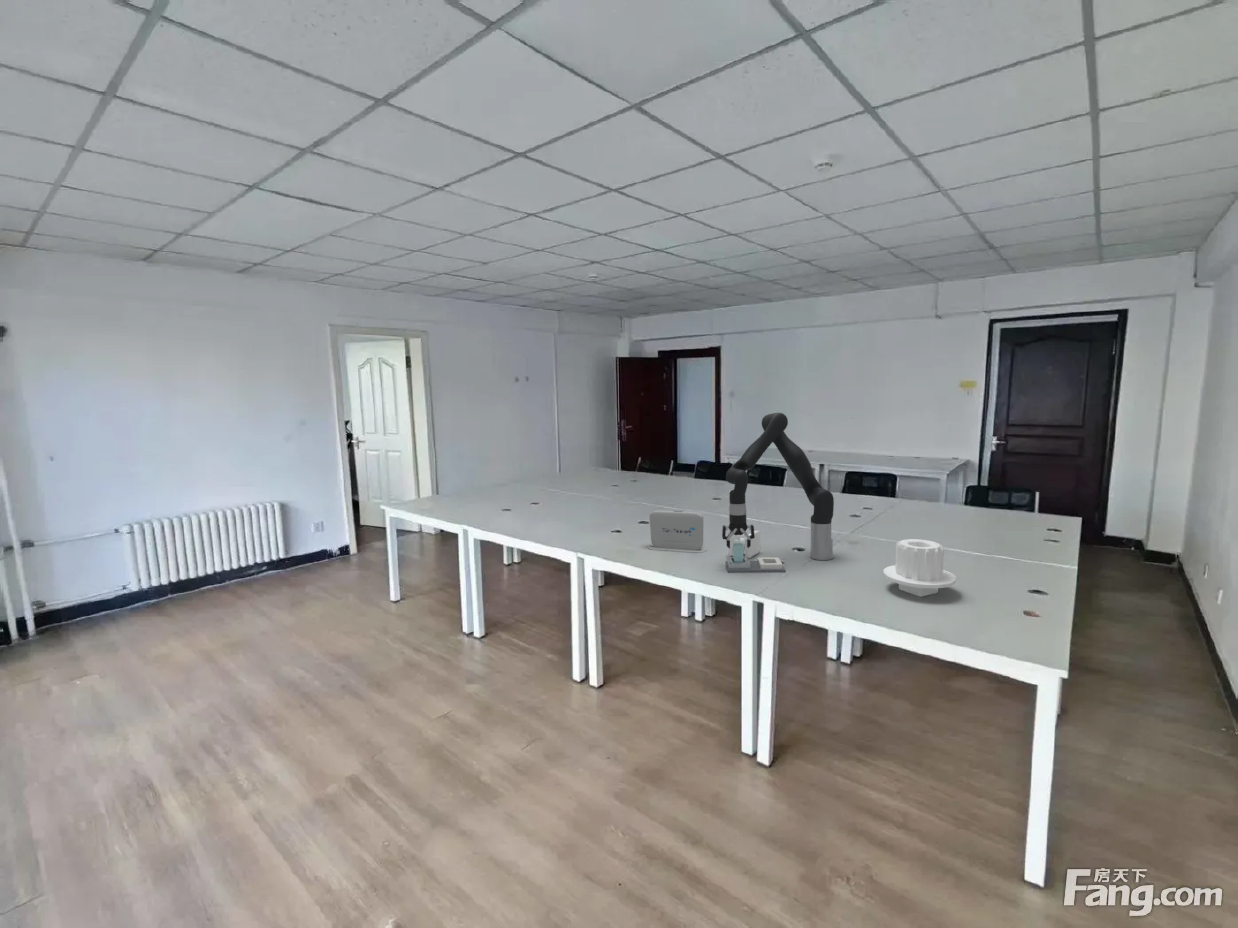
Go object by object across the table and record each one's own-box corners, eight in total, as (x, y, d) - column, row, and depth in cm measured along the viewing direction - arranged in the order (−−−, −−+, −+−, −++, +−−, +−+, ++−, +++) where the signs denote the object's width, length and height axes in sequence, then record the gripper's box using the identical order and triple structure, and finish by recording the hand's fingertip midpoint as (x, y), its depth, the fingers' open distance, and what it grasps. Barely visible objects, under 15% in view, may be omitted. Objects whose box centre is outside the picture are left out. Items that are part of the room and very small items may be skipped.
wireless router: (645, 549, 295) (643, 512, 292) (651, 544, 304) (650, 508, 302) (704, 553, 283) (703, 514, 281) (708, 548, 292) (707, 510, 290)
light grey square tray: (778, 561, 262) (778, 557, 262) (782, 568, 252) (782, 564, 252) (757, 561, 263) (757, 557, 263) (760, 568, 253) (760, 564, 253)
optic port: (747, 561, 264) (747, 555, 263) (750, 568, 253) (750, 562, 253) (726, 562, 265) (726, 556, 264) (728, 569, 254) (728, 562, 254)
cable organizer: (747, 560, 269) (747, 536, 268) (727, 557, 276) (727, 534, 274) (760, 552, 281) (760, 529, 279) (741, 549, 287) (741, 527, 286)
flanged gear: (924, 607, 205) (925, 556, 203) (868, 586, 228) (869, 541, 226) (970, 595, 215) (972, 546, 213) (913, 576, 238) (914, 532, 235)
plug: (742, 563, 261) (741, 542, 260) (743, 567, 256) (743, 545, 255) (733, 563, 262) (733, 542, 260) (734, 567, 257) (734, 545, 255)
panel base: (779, 562, 264) (779, 560, 264) (785, 572, 250) (785, 569, 250) (725, 563, 267) (725, 560, 266) (728, 572, 253) (728, 570, 253)
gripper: (752, 510, 259) (753, 545, 261) (721, 511, 260) (722, 545, 262) (754, 514, 251) (755, 549, 253) (722, 515, 253) (723, 550, 255)
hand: (738, 547), depth 258 cm, fingers open, 8 cm apart
